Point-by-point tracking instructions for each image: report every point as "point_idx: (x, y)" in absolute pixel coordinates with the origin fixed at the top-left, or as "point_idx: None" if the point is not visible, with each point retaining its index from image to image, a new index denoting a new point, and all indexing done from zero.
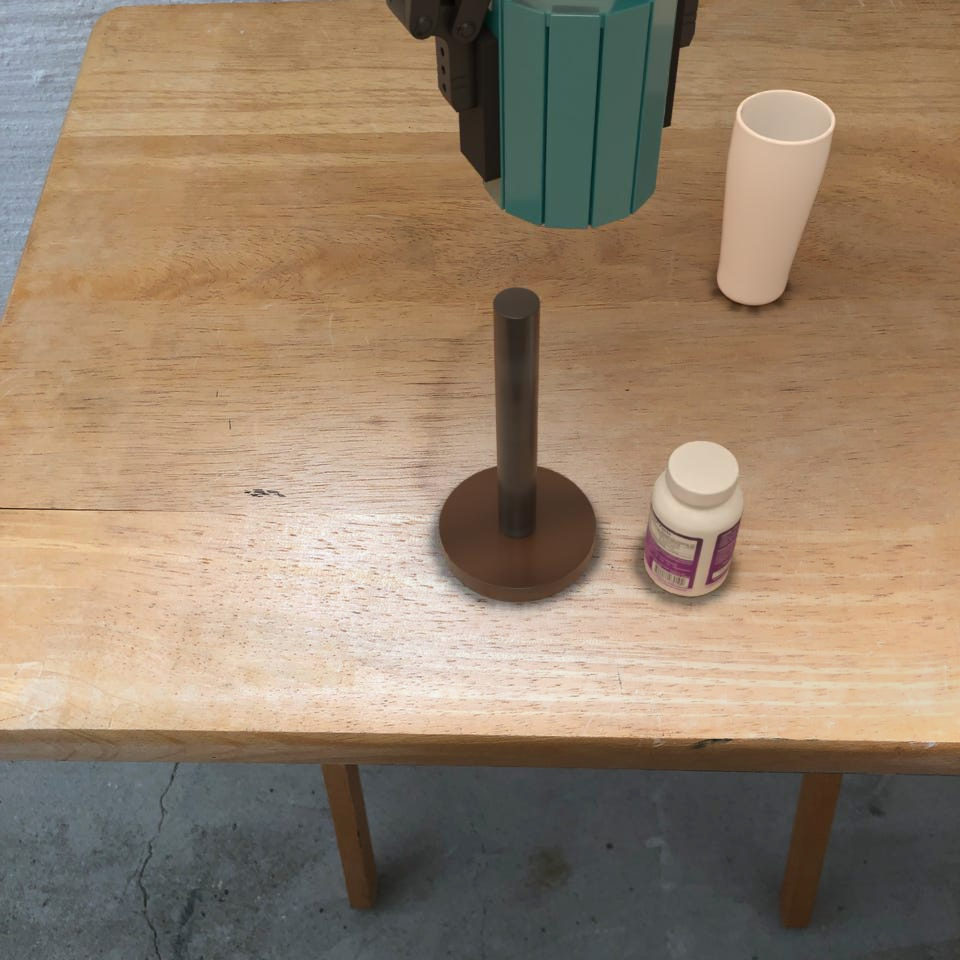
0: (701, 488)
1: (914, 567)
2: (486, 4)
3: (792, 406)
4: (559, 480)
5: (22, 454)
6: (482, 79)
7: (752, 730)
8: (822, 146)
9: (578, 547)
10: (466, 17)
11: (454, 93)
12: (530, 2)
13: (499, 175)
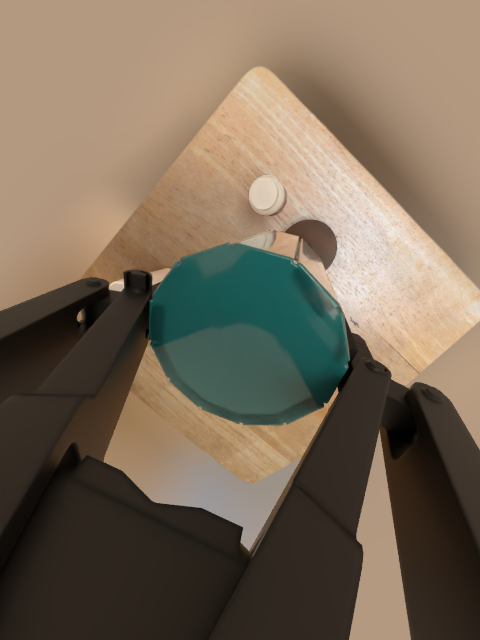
0: (272, 184)
1: (210, 139)
2: (356, 372)
3: (194, 229)
4: None
5: None
6: (350, 333)
7: (310, 117)
8: (120, 280)
9: (298, 226)
10: (378, 374)
11: (363, 343)
12: (332, 339)
13: None
